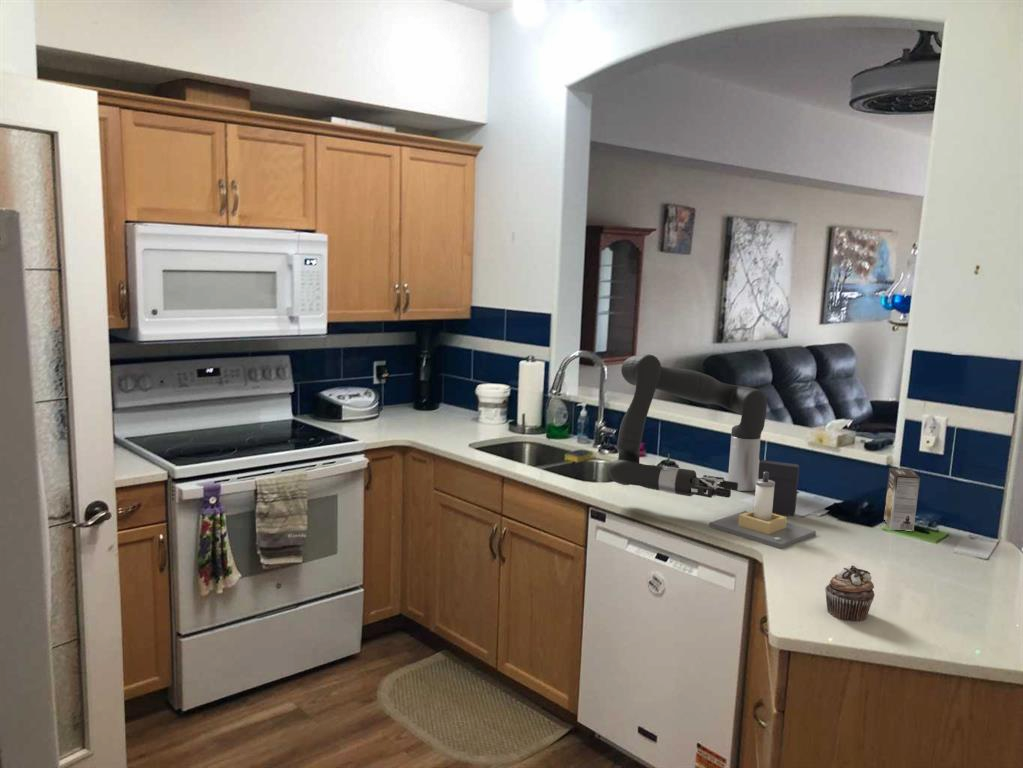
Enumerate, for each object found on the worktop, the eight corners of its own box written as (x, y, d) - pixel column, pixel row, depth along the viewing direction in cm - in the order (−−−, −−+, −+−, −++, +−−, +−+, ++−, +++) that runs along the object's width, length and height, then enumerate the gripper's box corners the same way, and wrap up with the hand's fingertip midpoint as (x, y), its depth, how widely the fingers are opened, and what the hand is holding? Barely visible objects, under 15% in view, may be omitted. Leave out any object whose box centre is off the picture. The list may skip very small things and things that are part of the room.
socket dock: (744, 514, 241) (746, 500, 240) (815, 534, 225) (816, 520, 224) (709, 526, 229) (710, 512, 228) (780, 548, 213) (782, 533, 212)
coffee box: (882, 520, 240) (888, 467, 237) (906, 522, 239) (912, 468, 236) (890, 530, 231) (896, 475, 228) (915, 532, 230) (921, 476, 227)
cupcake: (835, 600, 181) (839, 556, 180) (879, 615, 174) (884, 570, 173) (814, 612, 175) (818, 567, 173) (859, 627, 168) (864, 581, 166)
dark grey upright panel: (795, 513, 244) (799, 464, 242) (793, 516, 240) (798, 467, 238) (757, 507, 249) (761, 459, 247) (755, 511, 245) (759, 462, 243)
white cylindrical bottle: (758, 522, 230) (763, 468, 228) (774, 527, 227) (779, 472, 224) (748, 525, 227) (753, 471, 224) (764, 530, 223) (769, 475, 221)
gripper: (670, 473, 230) (729, 482, 222) (685, 463, 242) (740, 471, 235) (669, 499, 231) (727, 509, 224) (683, 488, 243) (738, 497, 236)
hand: (734, 490), depth 229 cm, fingers open, 8 cm apart
